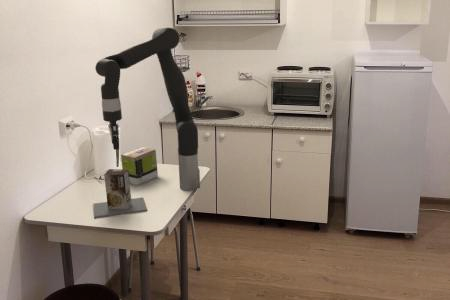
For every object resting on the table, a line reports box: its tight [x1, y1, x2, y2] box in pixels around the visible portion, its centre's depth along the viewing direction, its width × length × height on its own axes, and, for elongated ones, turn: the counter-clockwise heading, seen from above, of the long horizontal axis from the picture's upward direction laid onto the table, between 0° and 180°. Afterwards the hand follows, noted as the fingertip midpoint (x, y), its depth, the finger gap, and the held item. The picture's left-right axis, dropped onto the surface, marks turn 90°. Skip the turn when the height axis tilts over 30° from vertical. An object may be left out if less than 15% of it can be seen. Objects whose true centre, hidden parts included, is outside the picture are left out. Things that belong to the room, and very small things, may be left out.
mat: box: [93, 196, 148, 219], centre depth 212 cm, size 22×14×1 cm, turn 106°
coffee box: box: [103, 168, 132, 209], centre depth 209 cm, size 9×6×16 cm
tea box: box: [120, 146, 159, 186], centre depth 243 cm, size 15×10×15 cm
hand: (115, 146), depth 204 cm, fingers open, 8 cm apart
